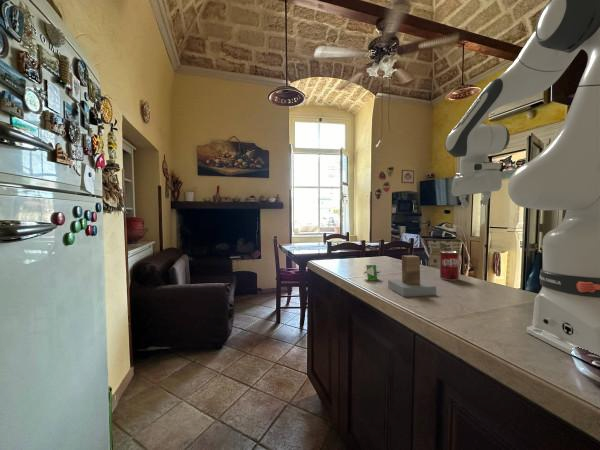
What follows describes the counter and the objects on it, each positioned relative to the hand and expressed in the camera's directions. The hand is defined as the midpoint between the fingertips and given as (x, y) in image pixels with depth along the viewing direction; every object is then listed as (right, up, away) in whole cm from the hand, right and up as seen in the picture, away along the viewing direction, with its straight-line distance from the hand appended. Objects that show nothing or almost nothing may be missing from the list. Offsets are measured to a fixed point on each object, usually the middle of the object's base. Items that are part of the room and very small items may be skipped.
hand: (474, 206), depth 96 cm
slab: (-24, -32, -1) cm, 40 cm away
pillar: (-24, -29, -1) cm, 38 cm away
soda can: (0, -31, +16) cm, 35 cm away
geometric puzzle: (-33, -32, +18) cm, 50 cm away
